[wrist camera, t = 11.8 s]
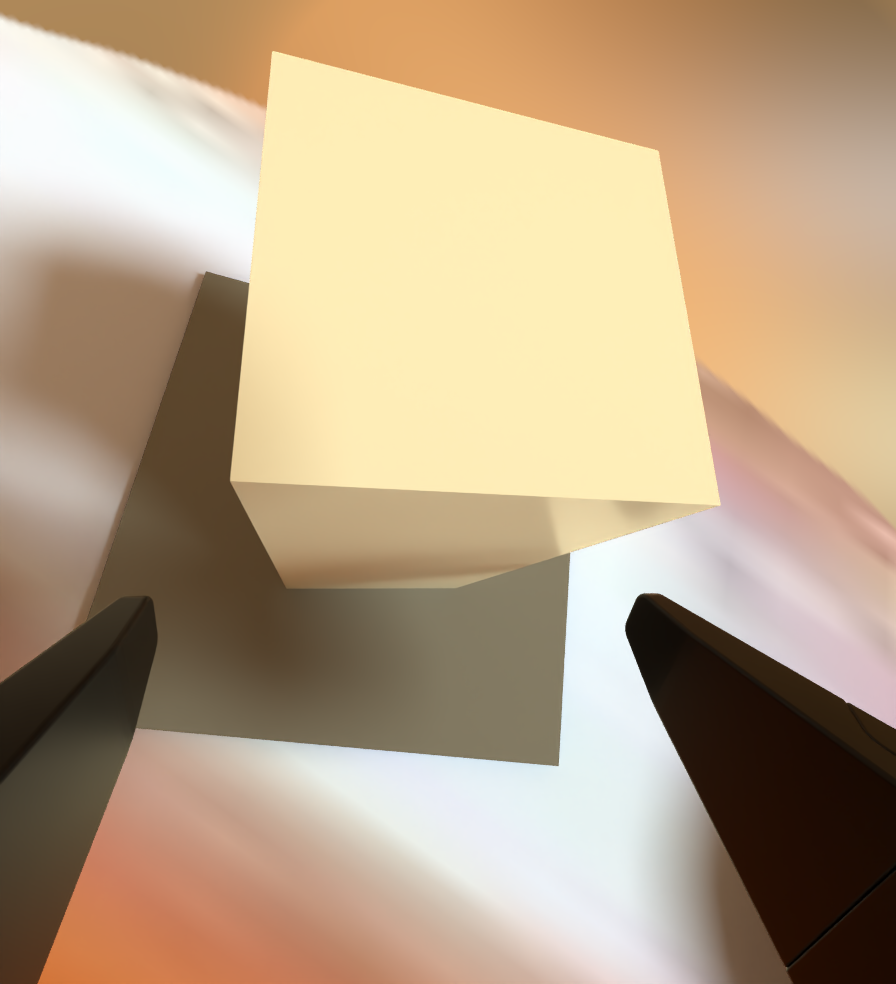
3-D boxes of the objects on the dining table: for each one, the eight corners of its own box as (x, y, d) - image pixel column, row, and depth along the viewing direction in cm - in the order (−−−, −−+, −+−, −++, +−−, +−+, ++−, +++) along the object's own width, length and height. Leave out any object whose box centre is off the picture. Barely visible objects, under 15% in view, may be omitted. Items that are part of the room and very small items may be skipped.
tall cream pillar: (455, 588, 17) (721, 505, 6) (286, 588, 16) (229, 480, 5) (451, 437, 19) (658, 150, 8) (296, 425, 17) (272, 50, 6)
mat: (553, 763, 17) (558, 765, 17) (59, 718, 14) (52, 720, 13) (575, 378, 22) (579, 373, 21) (207, 278, 18) (205, 271, 18)
